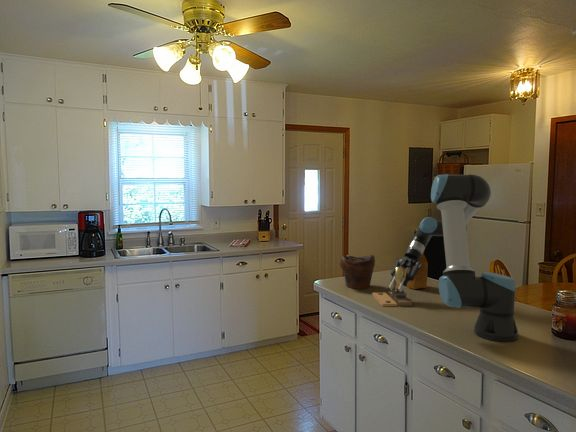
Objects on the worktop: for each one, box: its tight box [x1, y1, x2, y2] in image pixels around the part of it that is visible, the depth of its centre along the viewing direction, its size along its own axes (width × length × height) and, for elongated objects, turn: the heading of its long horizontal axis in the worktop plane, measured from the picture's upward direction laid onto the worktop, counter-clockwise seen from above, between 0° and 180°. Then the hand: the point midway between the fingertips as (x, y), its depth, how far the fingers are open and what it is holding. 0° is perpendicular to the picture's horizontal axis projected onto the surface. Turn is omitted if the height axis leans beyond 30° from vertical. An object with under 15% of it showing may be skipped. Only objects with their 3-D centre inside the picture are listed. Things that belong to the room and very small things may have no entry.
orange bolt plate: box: [371, 292, 398, 307], centre depth 208 cm, size 20×7×1 cm, turn 2°
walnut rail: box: [385, 286, 413, 307], centre depth 208 cm, size 20×8×7 cm, turn 2°
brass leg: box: [390, 267, 407, 297], centre depth 208 cm, size 6×7×14 cm
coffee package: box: [404, 252, 429, 290], centre depth 234 cm, size 10×12×22 cm
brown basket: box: [339, 254, 376, 290], centre depth 235 cm, size 18×20×18 cm
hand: (395, 289), depth 206 cm, fingers closed on brass leg, 4 cm apart
